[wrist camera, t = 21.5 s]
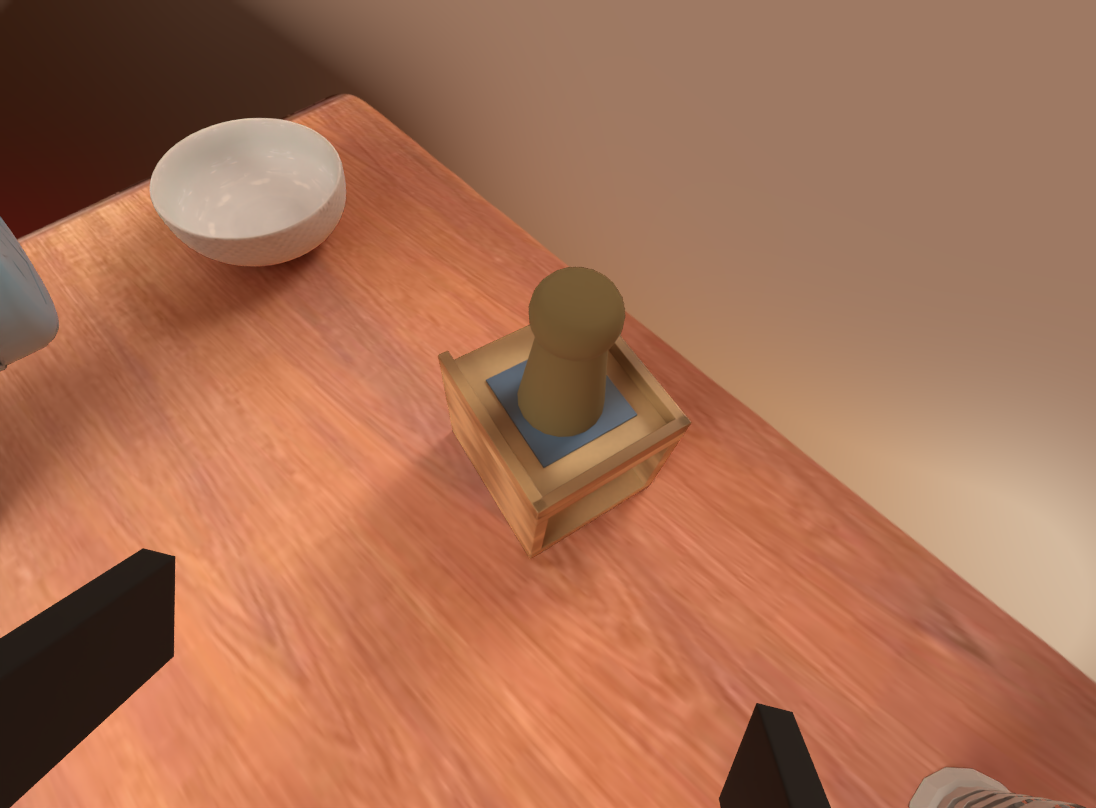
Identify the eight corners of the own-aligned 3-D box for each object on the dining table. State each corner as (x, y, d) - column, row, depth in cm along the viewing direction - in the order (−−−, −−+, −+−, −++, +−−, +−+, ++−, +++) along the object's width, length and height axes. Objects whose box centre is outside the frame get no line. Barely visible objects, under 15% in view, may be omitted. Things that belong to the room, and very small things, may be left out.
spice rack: (452, 430, 48) (437, 354, 37) (566, 372, 51) (582, 288, 41) (529, 559, 43) (537, 514, 32) (650, 484, 46) (692, 422, 36)
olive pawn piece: (573, 348, 40) (595, 234, 30) (621, 411, 37) (662, 311, 28) (501, 383, 38) (500, 274, 28) (546, 452, 36) (562, 360, 26)
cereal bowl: (251, 321, 52) (216, 269, 45) (155, 229, 56) (111, 170, 50) (391, 230, 58) (377, 174, 52) (295, 154, 63) (272, 94, 57)
